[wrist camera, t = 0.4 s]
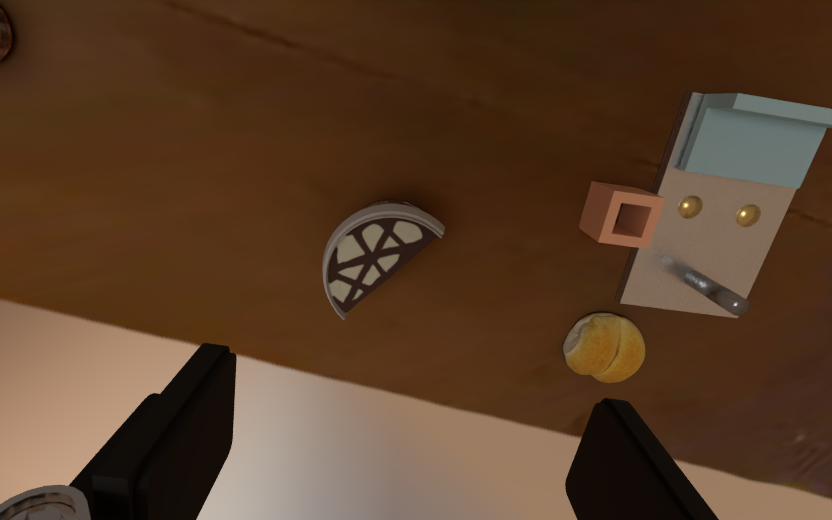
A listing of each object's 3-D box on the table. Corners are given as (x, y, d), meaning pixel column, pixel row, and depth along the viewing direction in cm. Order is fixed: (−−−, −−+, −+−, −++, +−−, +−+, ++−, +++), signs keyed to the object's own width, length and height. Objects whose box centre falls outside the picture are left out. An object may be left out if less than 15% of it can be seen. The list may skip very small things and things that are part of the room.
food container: (397, 160, 43) (396, 177, 33) (437, 205, 44) (447, 233, 35) (311, 239, 45) (287, 275, 36) (352, 279, 47) (339, 324, 38)
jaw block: (591, 181, 44) (614, 190, 39) (638, 187, 44) (665, 198, 40) (578, 227, 46) (598, 242, 41) (622, 233, 46) (647, 249, 41)
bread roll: (614, 380, 53) (630, 402, 49) (551, 357, 51) (563, 377, 48) (652, 326, 50) (672, 344, 47) (586, 300, 49) (601, 316, 45)
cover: (705, 93, 40) (738, 93, 36) (823, 113, 41) (868, 115, 37) (678, 169, 42) (706, 176, 38) (790, 186, 43) (829, 195, 39)
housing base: (685, 92, 41) (749, 90, 33) (818, 115, 42) (911, 118, 34) (615, 298, 49) (654, 335, 41) (729, 313, 50) (789, 352, 42)
